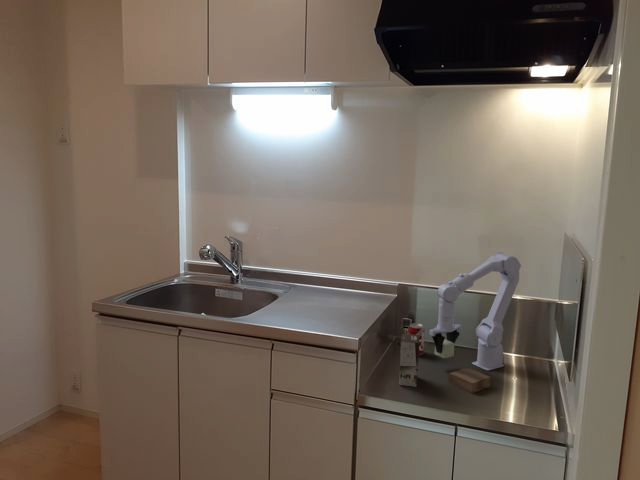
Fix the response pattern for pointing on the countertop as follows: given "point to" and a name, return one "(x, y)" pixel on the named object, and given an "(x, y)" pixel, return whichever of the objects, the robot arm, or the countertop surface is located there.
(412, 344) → the coffee box
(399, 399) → the countertop surface
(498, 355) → the robot arm
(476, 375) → the walnut base
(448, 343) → the sage cube
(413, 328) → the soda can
